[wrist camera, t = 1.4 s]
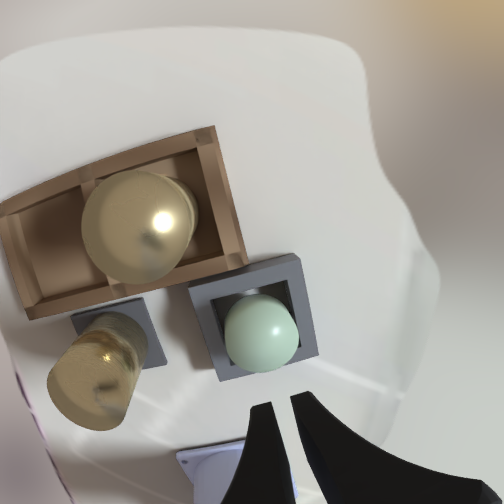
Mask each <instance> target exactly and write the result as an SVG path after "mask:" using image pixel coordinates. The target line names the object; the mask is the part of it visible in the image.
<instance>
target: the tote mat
mask: <svg viewBox="0 0 504 504" xmlns="http://www.w3.org/2000/svg"><path fill="white" fill-rule="evenodd" d="M108 311H114V312H120V313H123V314H126V315H128V316H130V317H131V318H133V319H134V320H135V321H136V322H137V323H138V324H139V325H140V326H141V327H142V328H143V330H144V332H145V334H146V336H147V339H148V353H147V356H146V359H145V361H144V364H143V367H142V369H148V368H153V367H158V366H163V365H167V360H166V357H165V355H164V352H163V350H162V347H161V345H160V342H159V340H158V337H157V335H156V332H155V329H154V327H153V324H152V321H151V319H150V316H149V313H148V310H147V308H146V305H145V302H144V299H143V298H139V299H135V300H131V301H126V302H122V303H118V304H114V305H110V306H106V307H102V308H98V309H94V310H90V311H85V312H81V313H77V314H73V315H72V316H71V320H72V322H73V324H74V327H75V329H76V331H77V334H78V336H79V335H80V334H81V333H82V331H83V330H84V329H85V328H86V327H87V325H88V324H89V323H90V322H91V321H92V320H93V319H94V318H95V317H96V316H97V315H99V314H101V313H104V312H108Z"/></svg>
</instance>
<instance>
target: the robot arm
mask: <svg viewBox="0 0 504 504" xmlns="http://www.w3.org/2000/svg"><path fill="white" fill-rule="evenodd" d="M290 399H291V403H292V407H293V411H294V415H295V419H296V423H297V427H298V431H299V435H300V439H301V442H302V445H303V448H304V451H305V454H306V457H307V461H308V463H309V465H310V467H311V469H312V471H313V474H314V476H315V478H316V480H317V482H318V484H319V486H320V488H321V491H322V493H323V495H324V497H325V499H326V501H327V503H328V504H502V500H501V499H500V498H499V496H498V495H497V494H496V493H495V492H494V491H493V490H492V489H491V488H490V487H489V486H488V485H486V484H485V483H484V482H483V481H482V480H477V479H470V478H463V477H458V476H453V475H448V474H444V473H440V472H437V471H433V470H430V469H427V468H424V467H421V466H418V465H415V464H413V463H410V462H407V461H405V460H402V459H400V458H398V457H396V456H394V455H392V454H390V453H388V452H386V451H384V450H382V449H380V448H379V447H377V446H375V445H373V444H372V443H370V442H369V441H367V440H365V439H364V438H362V437H361V436H359V435H358V434H357V433H355V432H354V431H352V430H351V429H350V428H348V427H347V426H346V425H345V424H343V423H342V422H341V421H340V420H339V419H337V418H336V417H335V416H334V415H333V414H332V413H330V412H329V411H328V410H327V409H326V408H325V407H324V406H323V405H322V404H321V403H320V402H319V401H318V400H317V398H316V397H315V396H314V395H313V394H312V393H311V392H309V391H306V392H303V393H300V394H296V395H293V396H290ZM176 459H177V461H178V462H179V464H180V466H181V467H182V469H183V470H184V472H185V473H186V475H187V476H188V478H189V480H190V481H191V483H192V484H193V486H194V500H193V504H296V502H295V498H297V497H298V492H297V488H296V485H295V482H294V479H293V475H292V472H291V469H290V465H289V461H288V458H287V454H286V451H285V447H284V444H283V440H282V437H281V433H280V430H279V427H278V423H277V420H276V416H275V413H274V410H273V406H272V403H271V402H267V403H263V404H259V405H255V406H253V407H252V408H251V409H250V420H249V426H248V431H247V436H246V440H241V441H237V442H232V443H227V444H222V445H216V446H210V447H205V448H198V449H192V450H185V451H179V452H177V453H176ZM184 460H186V461H184Z"/></svg>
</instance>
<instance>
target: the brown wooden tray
mask: <svg viewBox="0 0 504 504" xmlns="http://www.w3.org/2000/svg"><path fill="white" fill-rule="evenodd" d="M130 170H140V171H145V172H151V173H156V174H161V175H165V176H170V177H174V178H177V179H179V180H181V181H182V182H184V183H185V184H186V185H187V186H188V187H189V188H190V189H191V190H192V192H193V193H194V195H195V197H196V199H197V202H198V206H199V221H198V225H197V228H196V230H195V232H194V234H193V236H192V238H191V240H190V242H189V244H188V246H187V248H186V250H185V252H184V254H183V256H182V258H181V259H180V261H179V262H178V264H177V265H176V266H175V267H174V268H173V269H172V270H171V271H170V272H169V273H168V274H166V275H165V276H163V277H162V278H160V279H158V280H156V281H153V282H150V283H145V284H127V283H123V282H120V281H117V280H115V279H113V278H111V277H109V276H107V275H106V274H105V273H103V272H102V271H101V270H100V269H99V268H98V267H97V266H96V265H95V264H94V263H93V261H92V260H91V258H90V257H89V255H88V253H87V251H86V248H85V245H84V242H83V238H82V230H81V222H82V215H83V211H84V207H85V205H86V202H87V200H88V198H89V196H90V195H91V193H92V192H93V191H94V189H95V188H96V187H97V186H98V185H99V184H100V183H101V182H103V181H104V180H105V179H107V178H108V177H110V176H112V175H114V174H117V173H120V172H123V171H130ZM0 235H1V239H2V242H3V246H4V249H5V253H6V256H7V260H8V263H9V266H10V269H11V272H12V275H13V278H14V281H15V284H16V287H17V290H18V293H19V295H20V298H21V301H22V303H23V306H24V308H25V311H26V314H27V316H28V318H29V321H30V320H34V319H38V318H43V317H47V316H51V315H55V314H59V313H63V312H67V311H71V310H75V309H79V308H84V307H88V306H92V305H96V304H100V303H104V302H108V301H112V300H116V299H120V298H124V297H128V296H132V295H136V294H140V293H144V292H148V291H152V290H156V289H159V288H163V287H167V286H171V285H175V284H179V283H183V282H187V281H191V280H195V279H199V278H202V277H206V276H210V275H214V274H218V273H222V272H226V271H229V270H233V269H237V268H241V267H245V266H244V265H247V264H249V261H248V257H247V253H246V249H245V245H244V242H243V238H242V234H241V230H240V226H239V222H238V218H237V214H236V210H235V206H234V202H233V198H232V194H231V190H230V186H229V182H228V178H227V174H226V170H225V166H224V162H223V158H222V154H221V150H220V146H219V142H218V138H217V134H216V130H215V126H214V125H213V126H209V127H205V128H202V129H198V130H194V131H190V132H186V133H183V134H179V135H176V136H172V137H169V138H165V139H162V140H159V141H155V142H152V143H149V144H146V145H142V146H139V147H136V148H133V149H130V150H127V151H124V152H121V153H118V154H115V155H113V156H110V157H107V158H104V159H101V160H99V161H96V162H93V163H91V164H88V165H85V166H83V167H80V168H78V169H75V170H73V171H70V172H68V173H65V174H63V175H60V176H58V177H56V178H53V179H51V180H48V181H46V182H44V183H42V184H39V185H37V186H35V187H33V188H30V189H28V190H26V191H24V192H22V193H20V194H18V195H16V196H13V197H11V198H9V199H7V200H5V201H3V203H1V204H0Z"/></svg>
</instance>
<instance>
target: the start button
mask: <svg viewBox="0 0 504 504" xmlns="http://www.w3.org/2000/svg"><path fill="white" fill-rule="evenodd" d="M224 328H225V343H226V350H227V353H228V355H229V357H230V359H231V360H232V361H233V362H234V363H235V364H236V365H237V366H239V367H240V368H242V369H244V370H247V371H250V372H256V373H263V372H269V371H273V370H276V369H278V368H280V367H281V366H283V365H284V364H286V363H287V362H288V361H289V360H290V359H291V358H292V357H293V355H294V353H295V352H296V349H297V347H298V342H299V333H298V329H297V327H296V324H295V323H294V321H293V319H292V317H291V315H290V314H289V312H288V310H287V308H286V307H285V306H284V304H283V303H282V302H281V301H279V300H278V299H276V298H274V297H272V296H269V295H265V294H253V295H249V296H246V297H244V298H242V299H240V300H238V301H237V302H236V303H235V304H234V305H233V306H232V307H231V308H230V309H229V311H228V313H227V315H226V318H225V324H224Z"/></svg>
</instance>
